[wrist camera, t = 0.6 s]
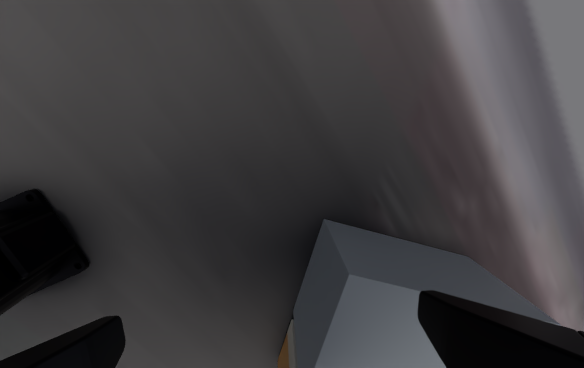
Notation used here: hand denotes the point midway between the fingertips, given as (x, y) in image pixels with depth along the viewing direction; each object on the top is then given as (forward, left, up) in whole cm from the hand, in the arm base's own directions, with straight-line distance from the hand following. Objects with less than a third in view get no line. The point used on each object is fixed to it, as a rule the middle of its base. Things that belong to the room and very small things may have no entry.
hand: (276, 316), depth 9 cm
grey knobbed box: (+5, -11, -12) cm, 17 cm away
